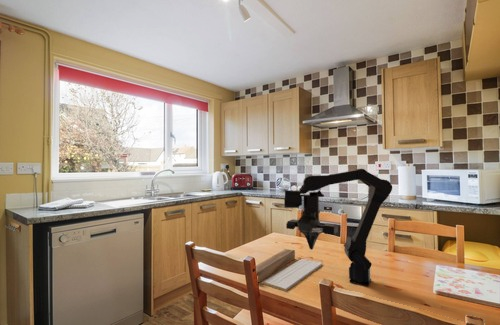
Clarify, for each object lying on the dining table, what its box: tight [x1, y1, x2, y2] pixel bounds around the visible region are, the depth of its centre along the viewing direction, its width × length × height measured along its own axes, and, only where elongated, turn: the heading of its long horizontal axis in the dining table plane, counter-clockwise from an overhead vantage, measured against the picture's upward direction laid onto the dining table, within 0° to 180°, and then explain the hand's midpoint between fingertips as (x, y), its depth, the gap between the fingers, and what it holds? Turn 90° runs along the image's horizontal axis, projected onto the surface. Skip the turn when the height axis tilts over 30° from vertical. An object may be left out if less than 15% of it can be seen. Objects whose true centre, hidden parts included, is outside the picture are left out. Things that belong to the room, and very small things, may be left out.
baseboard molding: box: [260, 255, 324, 292], centre depth 104 cm, size 31×3×12 cm
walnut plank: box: [255, 248, 296, 284], centre depth 110 cm, size 5×32×4 cm, turn 146°
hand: (311, 249), depth 99 cm, fingers closed
